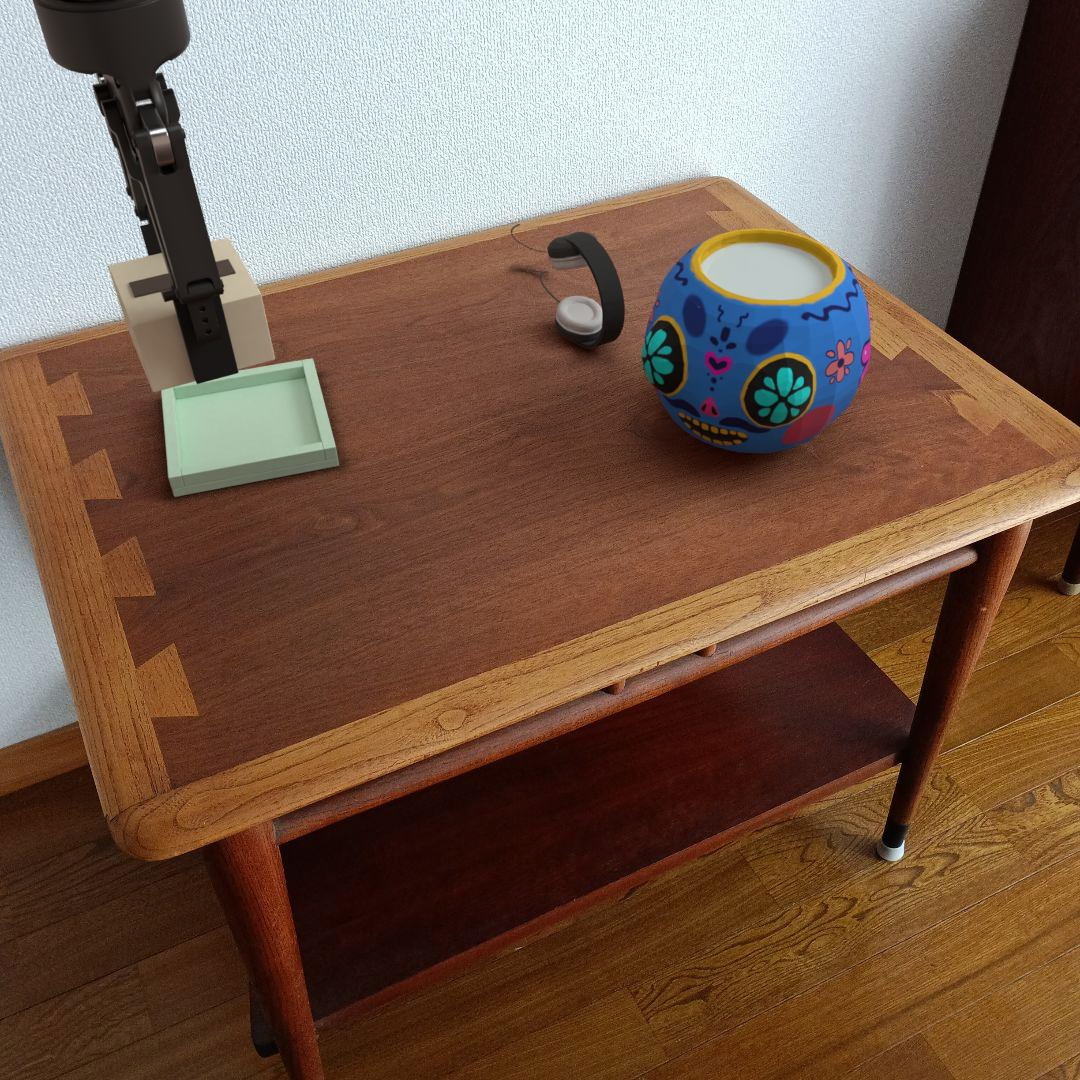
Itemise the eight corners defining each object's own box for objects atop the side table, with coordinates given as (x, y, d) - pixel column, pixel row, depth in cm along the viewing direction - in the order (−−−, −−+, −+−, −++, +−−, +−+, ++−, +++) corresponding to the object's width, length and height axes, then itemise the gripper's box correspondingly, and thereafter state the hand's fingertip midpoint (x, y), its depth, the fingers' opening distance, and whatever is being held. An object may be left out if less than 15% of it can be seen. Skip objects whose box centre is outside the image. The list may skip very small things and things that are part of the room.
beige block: (275, 360, 73) (260, 291, 69) (153, 393, 70) (131, 323, 67) (243, 301, 78) (228, 234, 74) (128, 330, 75) (106, 263, 72)
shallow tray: (316, 376, 98) (312, 357, 97) (339, 466, 89) (335, 446, 88) (166, 402, 96) (160, 383, 94) (174, 497, 87) (168, 477, 85)
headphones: (536, 290, 114) (639, 354, 98) (498, 302, 112) (597, 368, 97) (525, 194, 108) (632, 246, 93) (485, 204, 107) (588, 259, 91)
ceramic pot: (601, 449, 91) (607, 288, 80) (692, 343, 102) (708, 189, 91) (804, 521, 84) (839, 355, 74) (878, 400, 95) (918, 241, 85)
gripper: (223, 27, 52) (301, 410, 68) (134, -85, 66) (216, 257, 82) (60, 55, 50) (179, 445, 66) (2, -67, 64) (113, 281, 79)
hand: (200, 341), depth 74 cm, fingers closed on beige block, 8 cm apart
